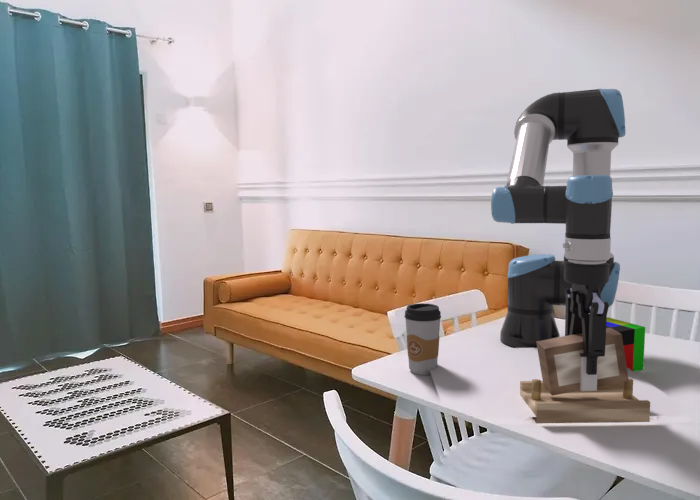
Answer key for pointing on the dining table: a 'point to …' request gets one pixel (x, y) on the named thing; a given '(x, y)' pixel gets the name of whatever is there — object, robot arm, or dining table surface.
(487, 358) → the dining table surface
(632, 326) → the puzzle toy
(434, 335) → the coffee cup
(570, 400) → the ledge
